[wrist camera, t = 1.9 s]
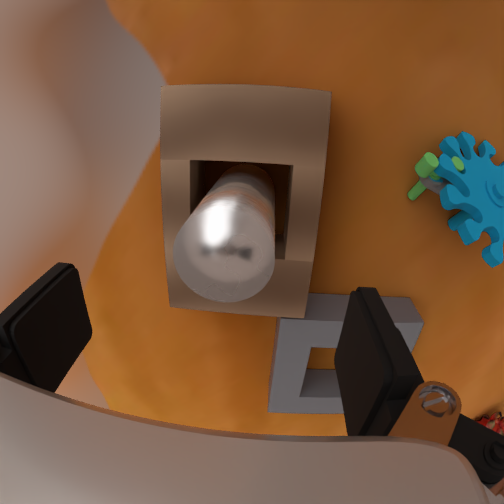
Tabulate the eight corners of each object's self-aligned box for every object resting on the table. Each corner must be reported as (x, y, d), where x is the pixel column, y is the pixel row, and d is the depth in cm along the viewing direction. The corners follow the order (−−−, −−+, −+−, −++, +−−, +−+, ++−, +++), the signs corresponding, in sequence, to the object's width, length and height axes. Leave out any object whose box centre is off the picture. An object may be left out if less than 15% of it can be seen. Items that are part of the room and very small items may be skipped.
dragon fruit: (502, 389, 32) (449, 428, 38) (489, 414, 27) (428, 454, 33) (526, 426, 27) (471, 461, 33) (516, 456, 22) (453, 490, 28)
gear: (533, 170, 17) (545, 285, 13) (492, 201, 22) (489, 305, 19) (429, 96, 17) (425, 212, 14) (395, 145, 23) (376, 252, 19)
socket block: (280, 291, 24) (280, 318, 21) (409, 297, 24) (424, 322, 21) (268, 384, 29) (267, 412, 26) (374, 385, 29) (381, 411, 25)
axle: (216, 162, 20) (170, 207, 11) (277, 165, 20) (278, 213, 11) (215, 218, 22) (176, 297, 13) (272, 222, 22) (270, 306, 13)
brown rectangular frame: (181, 89, 18) (161, 86, 15) (320, 95, 18) (331, 91, 14) (184, 277, 24) (169, 306, 21) (300, 286, 24) (304, 318, 20)
